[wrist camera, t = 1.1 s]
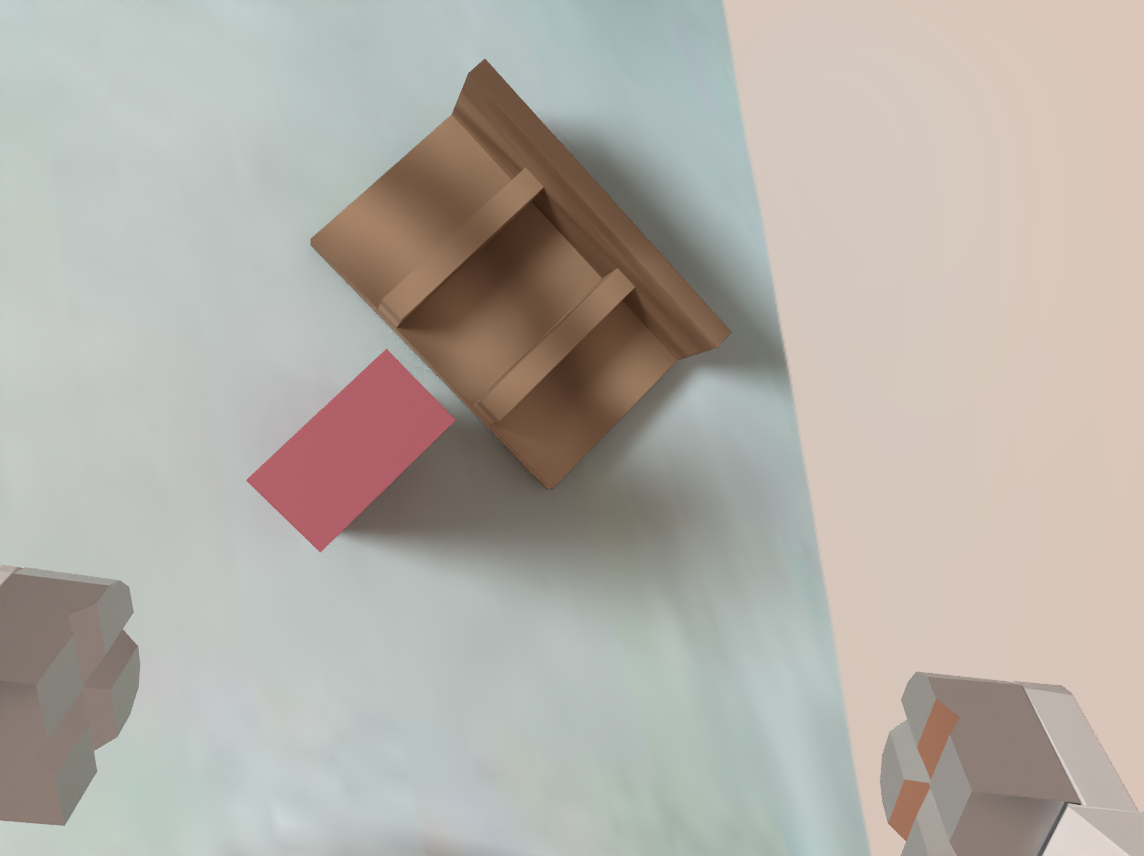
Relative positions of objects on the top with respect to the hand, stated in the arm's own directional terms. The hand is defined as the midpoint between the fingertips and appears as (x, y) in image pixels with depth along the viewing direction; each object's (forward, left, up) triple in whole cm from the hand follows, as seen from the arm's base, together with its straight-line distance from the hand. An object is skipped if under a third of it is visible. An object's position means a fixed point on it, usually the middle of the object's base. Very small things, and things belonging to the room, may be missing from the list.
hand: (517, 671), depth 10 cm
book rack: (-12, +6, -37) cm, 39 cm away
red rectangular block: (-3, -1, -37) cm, 37 cm away
